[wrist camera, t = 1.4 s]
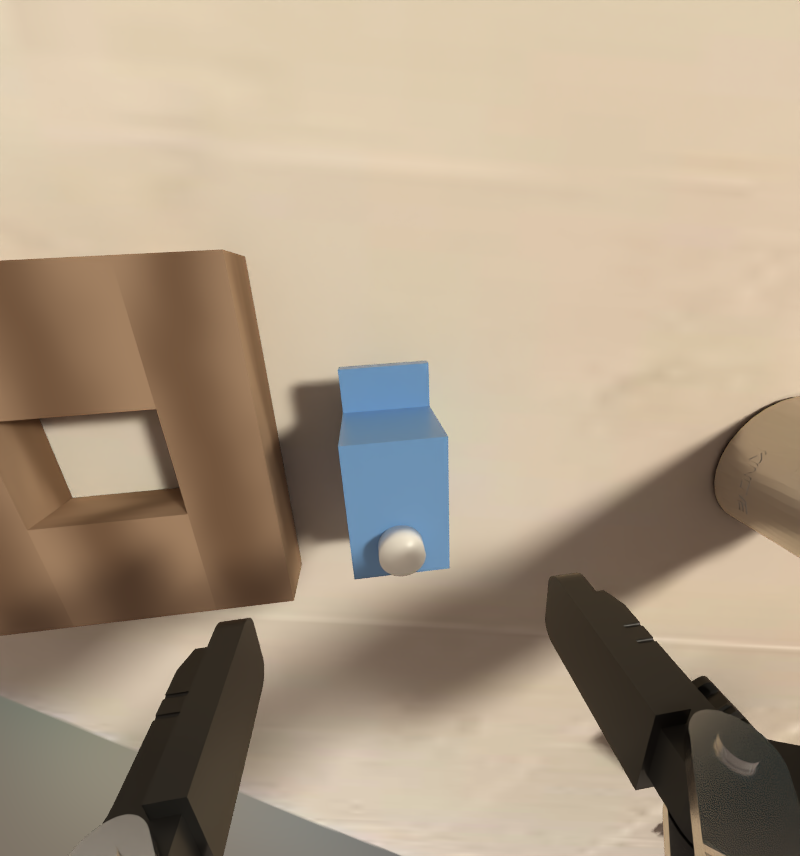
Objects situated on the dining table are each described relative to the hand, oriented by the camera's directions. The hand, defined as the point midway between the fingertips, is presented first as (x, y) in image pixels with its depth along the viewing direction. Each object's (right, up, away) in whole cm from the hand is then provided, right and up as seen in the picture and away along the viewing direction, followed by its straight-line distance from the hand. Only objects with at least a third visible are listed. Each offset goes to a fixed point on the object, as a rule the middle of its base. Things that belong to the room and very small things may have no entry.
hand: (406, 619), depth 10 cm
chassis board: (-15, +4, +10) cm, 18 cm away
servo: (-1, +4, +11) cm, 12 cm away
